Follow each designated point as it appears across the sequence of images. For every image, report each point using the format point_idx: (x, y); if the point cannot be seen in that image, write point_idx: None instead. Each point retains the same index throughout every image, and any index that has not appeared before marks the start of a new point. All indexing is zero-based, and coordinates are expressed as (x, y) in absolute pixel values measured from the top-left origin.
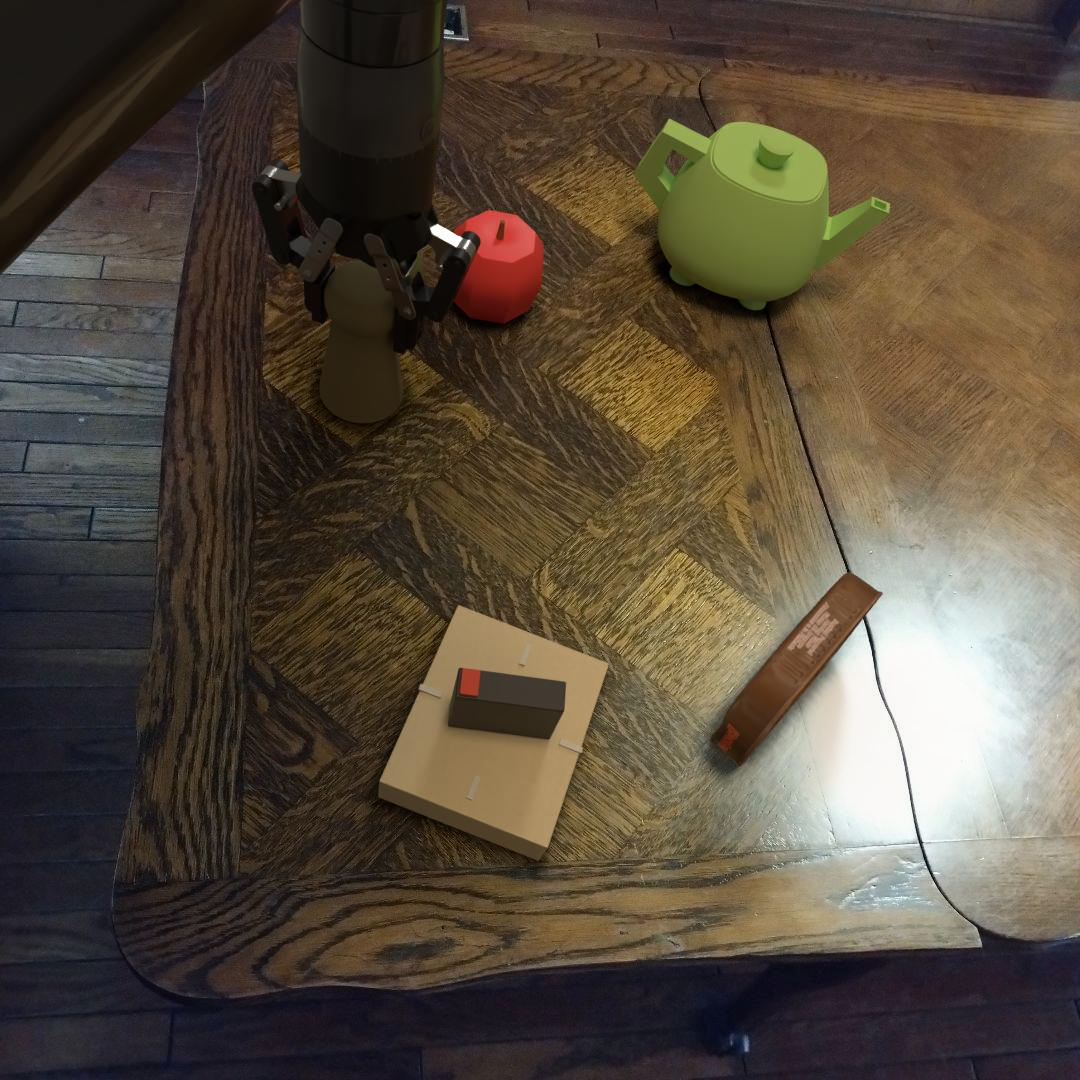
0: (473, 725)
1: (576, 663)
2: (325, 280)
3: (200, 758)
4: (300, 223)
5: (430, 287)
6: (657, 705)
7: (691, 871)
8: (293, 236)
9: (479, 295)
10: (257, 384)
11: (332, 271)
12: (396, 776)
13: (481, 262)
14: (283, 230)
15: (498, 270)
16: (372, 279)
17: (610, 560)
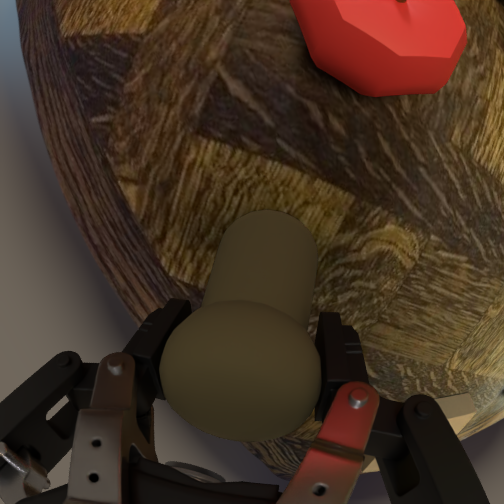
0: None
1: (461, 419)
2: (161, 386)
3: (280, 458)
4: (56, 399)
5: (383, 433)
6: (491, 386)
7: (478, 423)
8: (70, 396)
9: (389, 95)
10: (169, 283)
11: (156, 365)
12: (369, 470)
13: (397, 62)
14: (67, 447)
15: (426, 68)
16: (243, 420)
17: (495, 329)
